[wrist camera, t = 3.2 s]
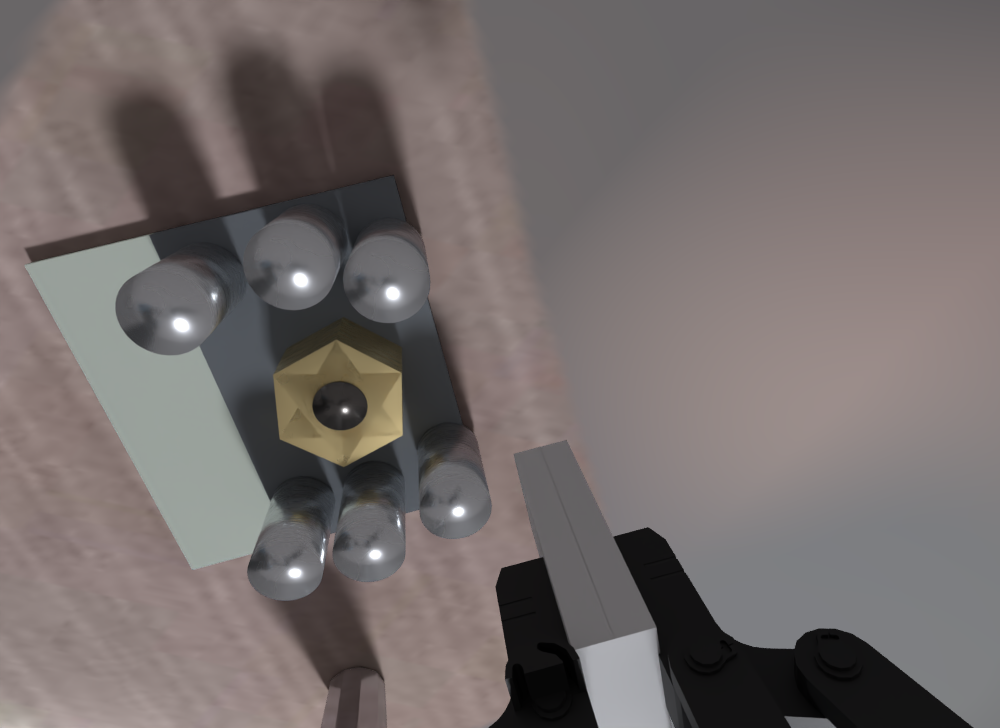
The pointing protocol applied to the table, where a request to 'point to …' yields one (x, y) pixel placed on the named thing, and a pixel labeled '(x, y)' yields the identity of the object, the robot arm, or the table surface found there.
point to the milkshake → (356, 700)
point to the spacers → (299, 285)
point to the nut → (340, 392)
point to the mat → (231, 377)
